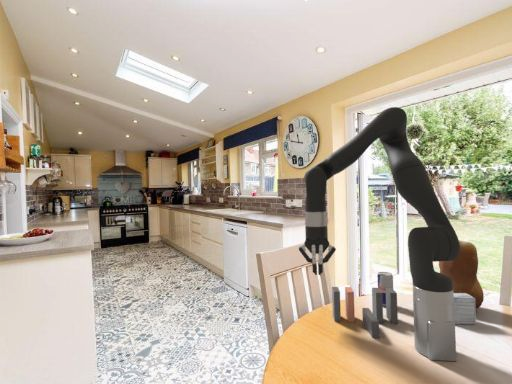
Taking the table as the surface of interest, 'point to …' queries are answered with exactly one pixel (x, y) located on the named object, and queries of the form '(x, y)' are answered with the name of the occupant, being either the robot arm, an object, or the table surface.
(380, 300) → the domino
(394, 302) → the domino
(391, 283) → the energy drink
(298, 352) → the table surface
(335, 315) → the domino
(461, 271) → the butternut squash
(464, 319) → the medicine box
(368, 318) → the domino
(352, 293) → the domino
